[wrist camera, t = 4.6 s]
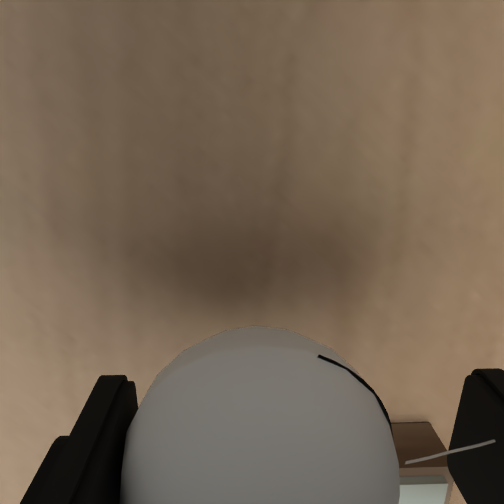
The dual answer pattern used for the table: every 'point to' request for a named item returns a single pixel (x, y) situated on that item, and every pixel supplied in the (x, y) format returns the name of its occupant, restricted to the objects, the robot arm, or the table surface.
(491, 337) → the table surface
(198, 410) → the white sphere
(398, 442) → the riser
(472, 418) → the robot arm
